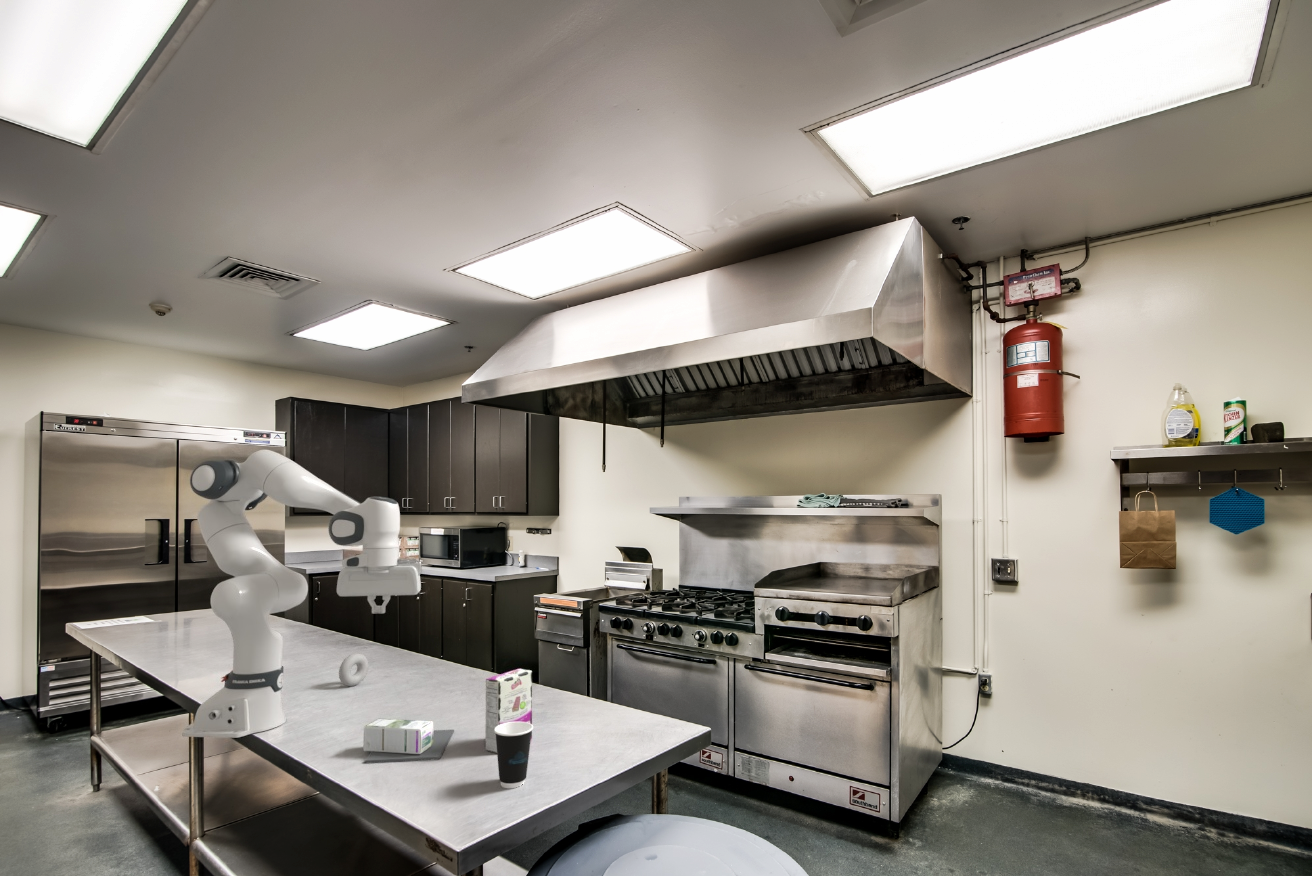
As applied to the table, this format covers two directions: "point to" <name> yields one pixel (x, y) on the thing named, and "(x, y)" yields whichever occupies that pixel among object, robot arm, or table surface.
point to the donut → (347, 665)
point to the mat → (432, 752)
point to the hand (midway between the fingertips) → (378, 613)
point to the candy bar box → (507, 702)
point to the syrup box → (398, 736)
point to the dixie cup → (513, 752)
